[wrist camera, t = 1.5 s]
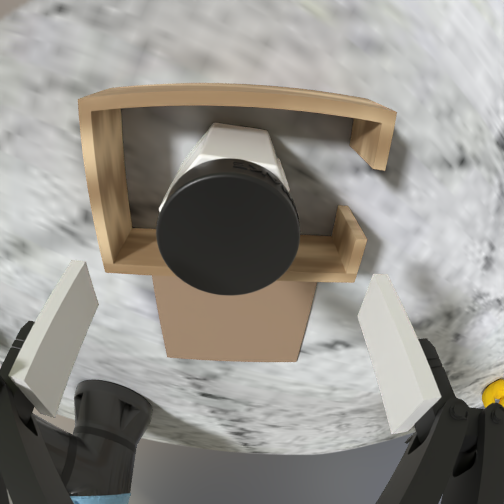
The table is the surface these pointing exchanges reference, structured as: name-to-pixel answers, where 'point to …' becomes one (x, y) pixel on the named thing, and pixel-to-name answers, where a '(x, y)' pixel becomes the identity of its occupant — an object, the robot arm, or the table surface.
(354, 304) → the table surface
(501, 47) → the table surface
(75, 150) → the table surface
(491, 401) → the duckling
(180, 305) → the mat
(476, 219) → the table surface
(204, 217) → the jar
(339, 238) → the crate
